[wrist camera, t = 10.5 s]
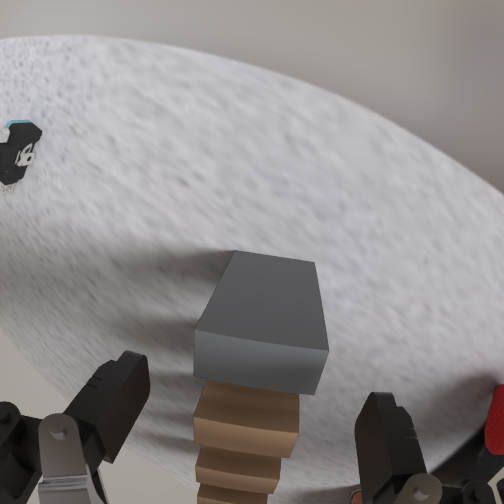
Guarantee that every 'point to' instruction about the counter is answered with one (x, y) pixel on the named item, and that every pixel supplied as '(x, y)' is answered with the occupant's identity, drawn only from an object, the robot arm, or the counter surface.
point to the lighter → (356, 495)
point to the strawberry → (495, 423)
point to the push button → (16, 151)
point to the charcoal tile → (264, 326)
